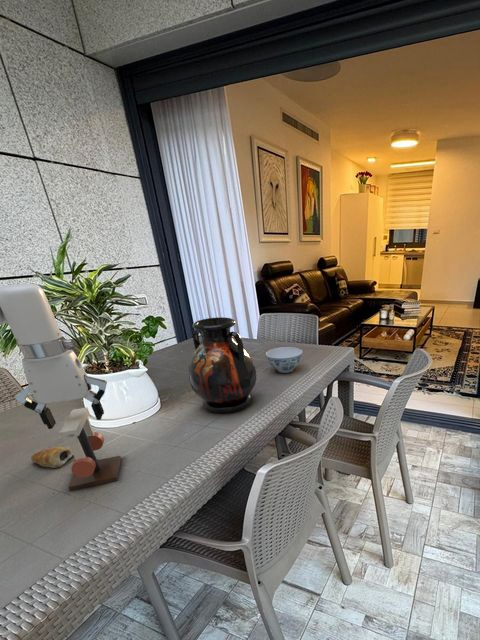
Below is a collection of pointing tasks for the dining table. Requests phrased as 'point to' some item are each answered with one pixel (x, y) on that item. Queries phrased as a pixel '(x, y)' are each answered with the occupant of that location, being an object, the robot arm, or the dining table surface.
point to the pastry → (52, 457)
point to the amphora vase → (221, 366)
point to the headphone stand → (103, 470)
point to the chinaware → (284, 358)
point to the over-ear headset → (70, 431)
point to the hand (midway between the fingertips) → (76, 421)
